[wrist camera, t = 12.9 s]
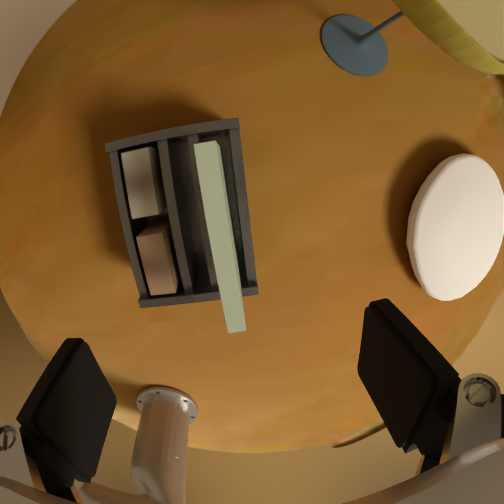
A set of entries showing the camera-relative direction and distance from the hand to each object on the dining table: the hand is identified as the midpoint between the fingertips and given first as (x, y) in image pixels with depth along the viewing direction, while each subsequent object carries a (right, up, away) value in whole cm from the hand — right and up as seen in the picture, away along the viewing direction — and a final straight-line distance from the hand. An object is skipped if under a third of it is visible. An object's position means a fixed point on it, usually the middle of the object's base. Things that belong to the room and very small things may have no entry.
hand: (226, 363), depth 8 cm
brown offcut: (-11, +13, +26) cm, 31 cm away
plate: (+38, +8, +33) cm, 51 cm away
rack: (-7, +10, +28) cm, 31 cm away
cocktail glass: (+16, +34, +22) cm, 43 cm away
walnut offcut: (-10, +5, +29) cm, 31 cm away
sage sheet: (-3, +10, +28) cm, 29 cm away
